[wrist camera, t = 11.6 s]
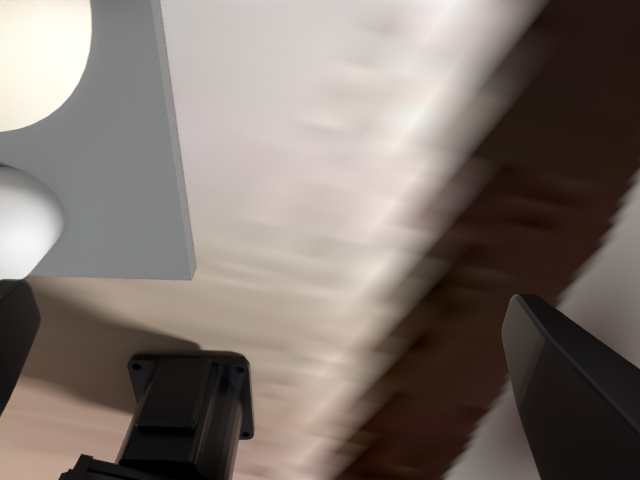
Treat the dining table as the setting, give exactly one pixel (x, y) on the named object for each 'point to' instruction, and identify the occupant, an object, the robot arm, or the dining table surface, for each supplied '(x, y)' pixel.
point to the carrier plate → (89, 143)
